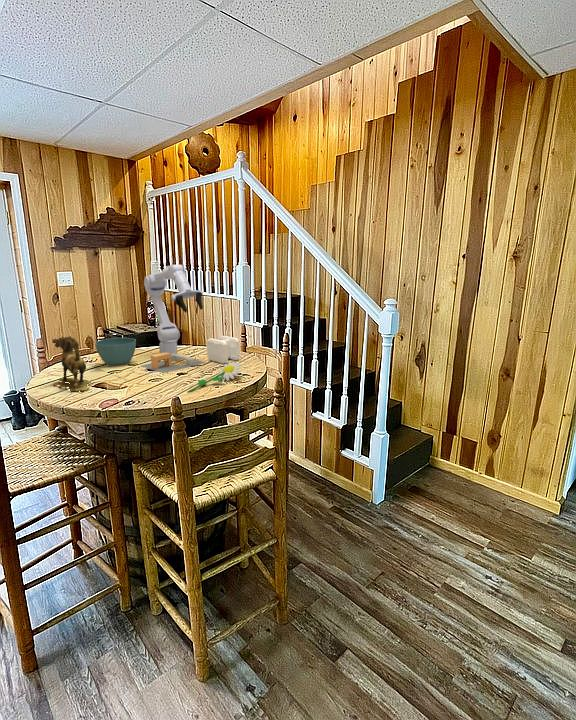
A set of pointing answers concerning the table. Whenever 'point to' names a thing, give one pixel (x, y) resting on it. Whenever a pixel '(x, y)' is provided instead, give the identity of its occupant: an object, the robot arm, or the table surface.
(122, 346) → the plant pot
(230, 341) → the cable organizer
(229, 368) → the decorative flower
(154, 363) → the orange arch block
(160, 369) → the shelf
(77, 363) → the figurine
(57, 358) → the table surface
